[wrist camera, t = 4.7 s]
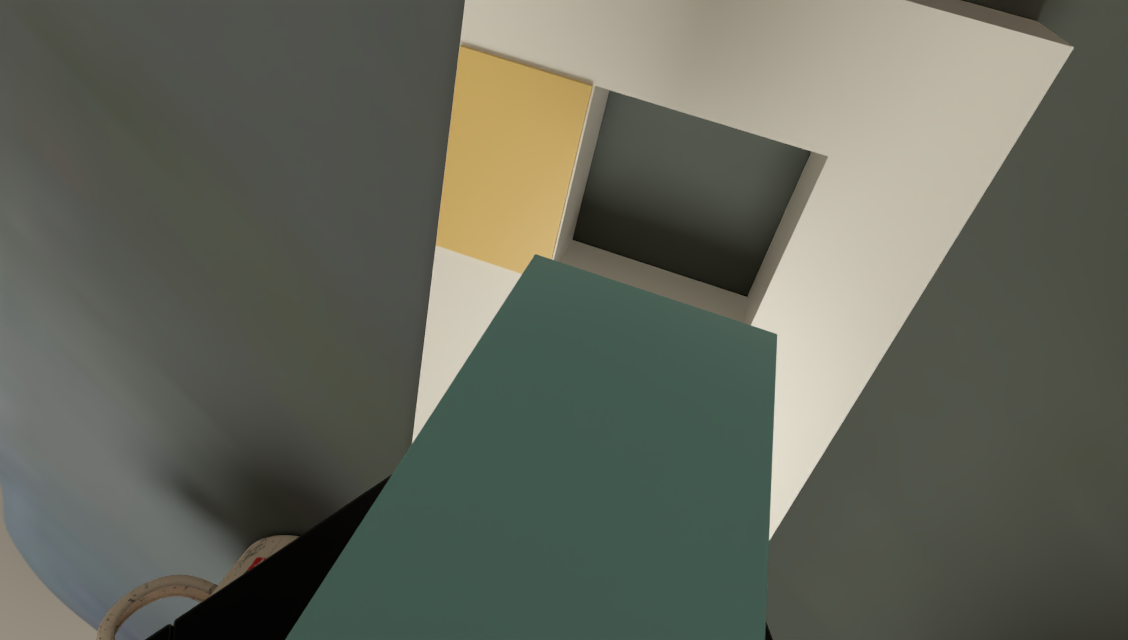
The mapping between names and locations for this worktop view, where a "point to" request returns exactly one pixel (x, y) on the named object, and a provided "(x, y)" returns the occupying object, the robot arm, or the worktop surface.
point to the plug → (575, 481)
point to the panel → (756, 105)
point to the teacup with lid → (186, 585)
